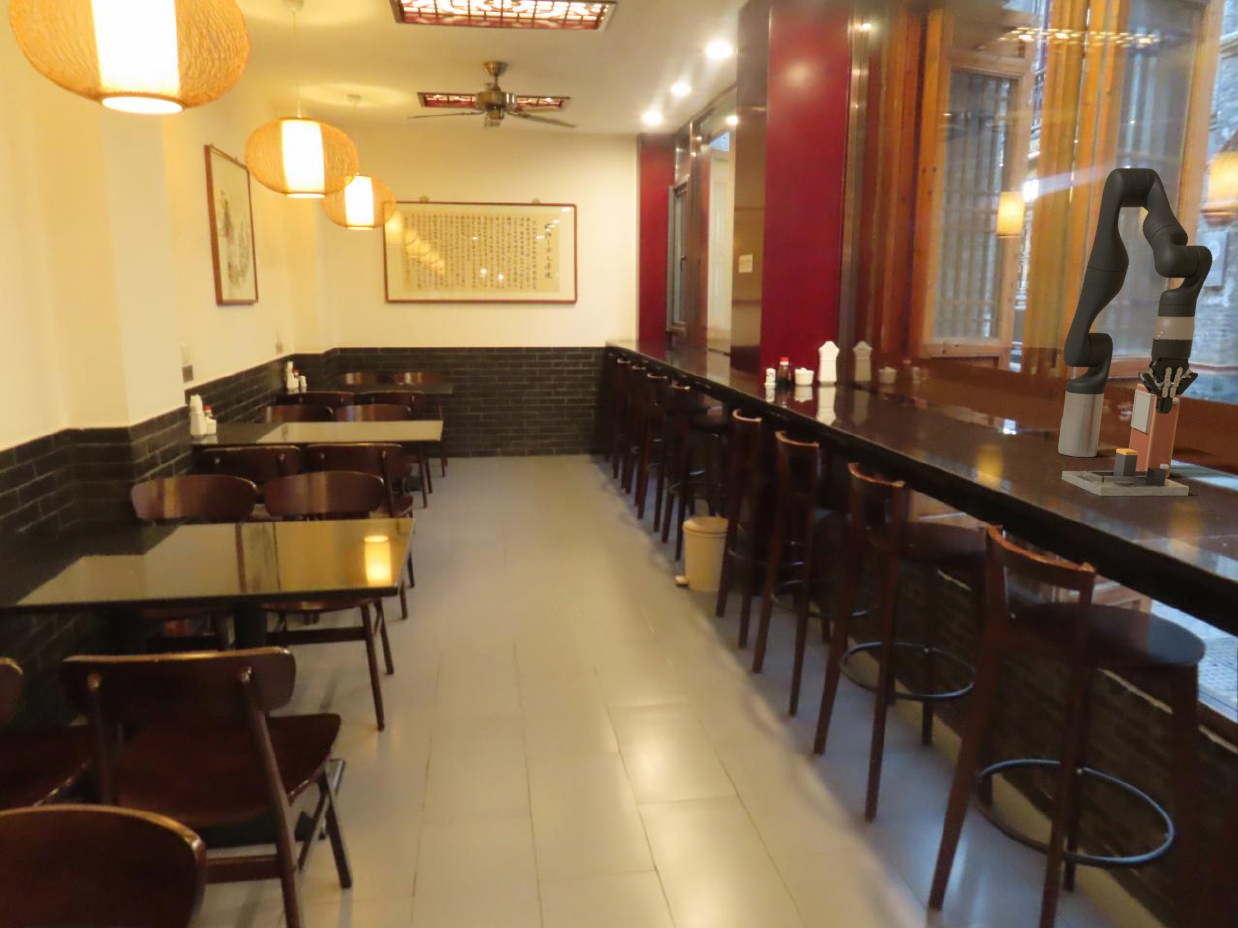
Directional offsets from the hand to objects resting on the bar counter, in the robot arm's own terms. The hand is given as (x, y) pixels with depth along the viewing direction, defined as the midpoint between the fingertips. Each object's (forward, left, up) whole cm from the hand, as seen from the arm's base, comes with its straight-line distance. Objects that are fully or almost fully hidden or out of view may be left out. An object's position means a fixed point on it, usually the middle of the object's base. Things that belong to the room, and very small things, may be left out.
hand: (1162, 413), depth 194 cm
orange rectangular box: (-16, +9, -18) cm, 25 cm away
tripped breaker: (0, -7, -15) cm, 16 cm away
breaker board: (0, -7, -17) cm, 19 cm away
